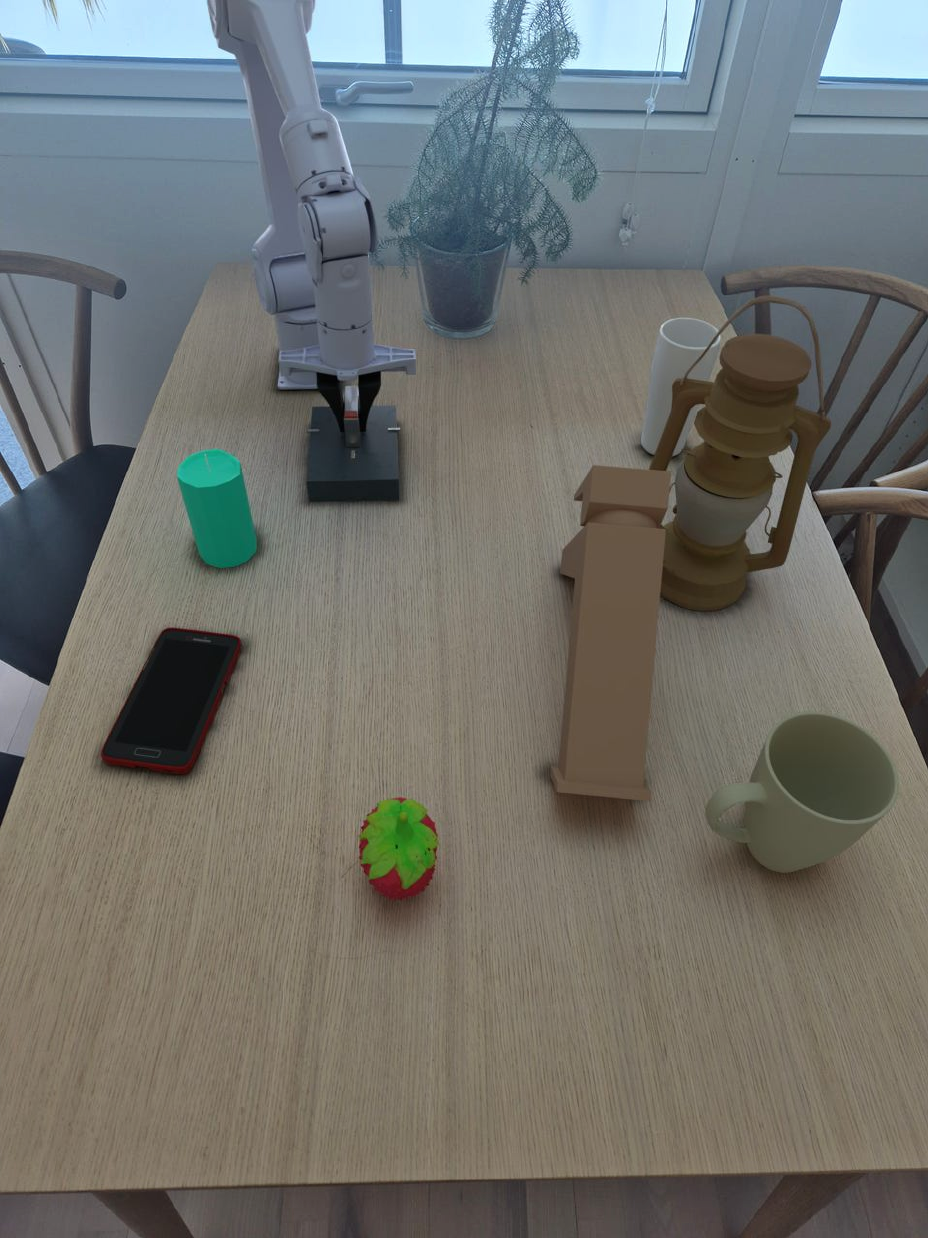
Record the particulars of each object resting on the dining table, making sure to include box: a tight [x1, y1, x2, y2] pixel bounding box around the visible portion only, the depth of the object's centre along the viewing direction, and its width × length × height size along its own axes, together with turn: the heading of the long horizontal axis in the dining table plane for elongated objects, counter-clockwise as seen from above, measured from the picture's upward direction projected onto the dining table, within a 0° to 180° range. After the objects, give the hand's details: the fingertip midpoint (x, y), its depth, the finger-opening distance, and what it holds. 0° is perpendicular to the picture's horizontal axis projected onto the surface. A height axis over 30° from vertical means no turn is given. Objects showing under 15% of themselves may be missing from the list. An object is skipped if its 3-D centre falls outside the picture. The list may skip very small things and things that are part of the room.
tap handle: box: [343, 385, 361, 447], centre depth 94 cm, size 6×2×4 cm, turn 5°
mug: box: [704, 710, 900, 874], centre depth 61 cm, size 11×10×12 cm
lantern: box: [648, 295, 832, 612], centre depth 75 cm, size 15×10×30 cm
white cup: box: [640, 317, 722, 457], centre depth 95 cm, size 7×7×15 cm
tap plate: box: [305, 404, 401, 503], centre depth 95 cm, size 14×11×3 cm
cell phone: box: [100, 627, 243, 775], centre depth 73 cm, size 8×15×1 cm, turn 172°
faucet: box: [549, 464, 672, 802], centre depth 74 cm, size 7×23×25 cm
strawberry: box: [358, 796, 440, 902], centre depth 59 cm, size 6×7×10 cm
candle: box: [176, 448, 258, 569], centre depth 82 cm, size 6×6×12 cm
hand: (353, 426), depth 95 cm, fingers closed on tap handle, 2 cm apart
